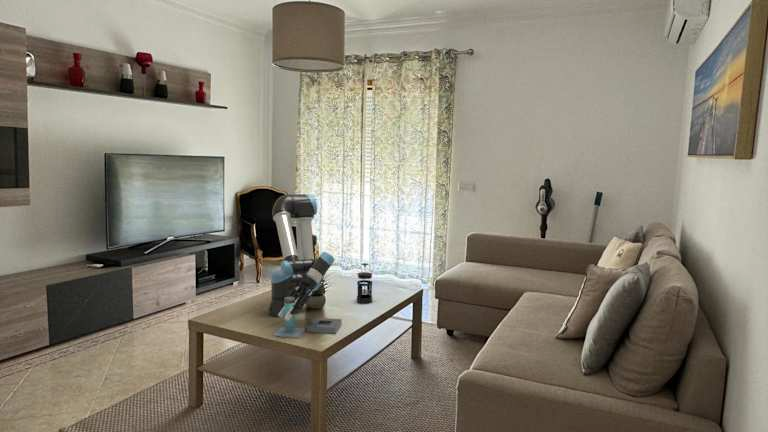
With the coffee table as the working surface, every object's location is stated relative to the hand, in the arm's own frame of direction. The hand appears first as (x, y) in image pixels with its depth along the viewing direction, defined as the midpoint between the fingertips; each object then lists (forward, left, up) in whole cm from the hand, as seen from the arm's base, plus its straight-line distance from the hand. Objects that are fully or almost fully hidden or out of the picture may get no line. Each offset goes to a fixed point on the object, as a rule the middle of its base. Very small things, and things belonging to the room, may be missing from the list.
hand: (283, 318), depth 255 cm
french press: (+28, +64, -9) cm, 70 cm away
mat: (+2, +3, -8) cm, 9 cm away
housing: (+17, +13, -8) cm, 23 cm away
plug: (+2, +3, -6) cm, 7 cm away
